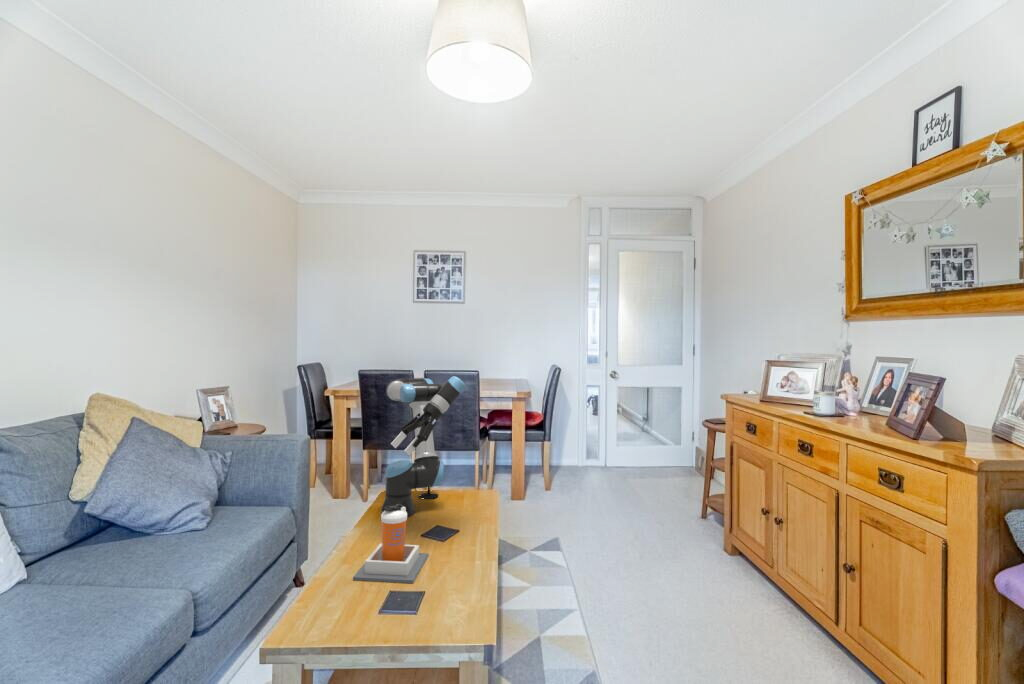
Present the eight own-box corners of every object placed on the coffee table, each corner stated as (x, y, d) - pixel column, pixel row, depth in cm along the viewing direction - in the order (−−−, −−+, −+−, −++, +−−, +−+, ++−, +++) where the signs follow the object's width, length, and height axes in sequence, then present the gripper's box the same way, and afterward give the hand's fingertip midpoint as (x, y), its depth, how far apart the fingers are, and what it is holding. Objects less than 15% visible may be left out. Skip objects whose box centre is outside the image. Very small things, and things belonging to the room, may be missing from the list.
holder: (375, 553, 171) (375, 539, 171) (428, 556, 169) (428, 542, 169) (353, 580, 151) (353, 564, 151) (413, 583, 149) (413, 567, 149)
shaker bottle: (374, 564, 160) (376, 506, 160) (396, 556, 167) (398, 500, 167) (388, 573, 154) (390, 512, 154) (411, 564, 160) (412, 506, 161)
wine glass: (416, 494, 240) (417, 456, 240) (436, 492, 244) (436, 454, 245) (420, 501, 230) (421, 460, 231) (441, 498, 235) (441, 459, 235)
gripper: (456, 418, 179) (419, 462, 170) (428, 410, 199) (393, 449, 190) (444, 406, 176) (406, 449, 167) (416, 398, 196) (381, 437, 187)
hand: (399, 449), depth 179 cm, fingers open, 13 cm apart
